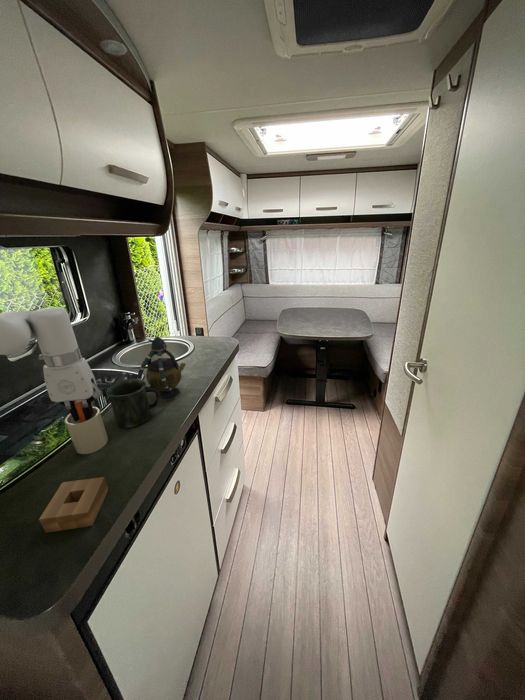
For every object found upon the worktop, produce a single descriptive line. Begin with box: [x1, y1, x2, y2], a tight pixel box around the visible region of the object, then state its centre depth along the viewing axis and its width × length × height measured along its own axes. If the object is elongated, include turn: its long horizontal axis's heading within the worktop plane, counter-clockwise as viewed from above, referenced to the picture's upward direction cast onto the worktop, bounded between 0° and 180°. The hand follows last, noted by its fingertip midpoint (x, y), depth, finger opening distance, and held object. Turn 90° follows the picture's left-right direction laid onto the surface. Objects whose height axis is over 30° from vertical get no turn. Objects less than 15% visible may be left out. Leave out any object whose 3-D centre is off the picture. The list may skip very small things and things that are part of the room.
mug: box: [105, 378, 160, 429], centre depth 89 cm, size 11×15×12 cm
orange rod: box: [74, 400, 87, 422], centre depth 77 cm, size 2×2×14 cm
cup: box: [64, 406, 109, 455], centre depth 78 cm, size 8×8×10 cm
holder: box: [38, 476, 109, 534], centre depth 60 cm, size 9×9×4 cm
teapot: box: [136, 336, 186, 402], centre depth 103 cm, size 12×25×23 cm, turn 171°
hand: (84, 417), depth 77 cm, fingers closed on orange rod, 2 cm apart
